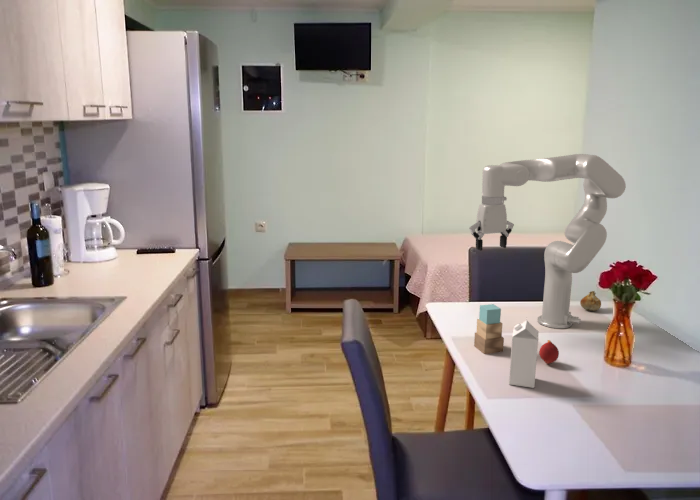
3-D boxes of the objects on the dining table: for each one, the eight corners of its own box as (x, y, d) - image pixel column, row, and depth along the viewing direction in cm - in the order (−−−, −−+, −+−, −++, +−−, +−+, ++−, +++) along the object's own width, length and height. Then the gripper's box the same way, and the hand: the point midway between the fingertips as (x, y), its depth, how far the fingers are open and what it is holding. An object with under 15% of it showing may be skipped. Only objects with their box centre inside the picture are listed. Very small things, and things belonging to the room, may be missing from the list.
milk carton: (534, 378, 168) (539, 318, 164) (534, 388, 162) (539, 326, 157) (510, 374, 171) (514, 315, 166) (508, 385, 164) (512, 323, 160)
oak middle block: (491, 331, 193) (492, 317, 191) (501, 337, 187) (502, 323, 186) (476, 333, 191) (477, 319, 190) (485, 339, 185) (486, 325, 184)
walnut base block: (492, 344, 194) (493, 330, 193) (503, 352, 188) (503, 338, 186) (474, 346, 192) (474, 332, 191) (484, 354, 186) (485, 340, 185)
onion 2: (575, 307, 232) (577, 289, 230) (594, 307, 232) (595, 288, 231) (585, 313, 224) (587, 294, 222) (604, 313, 225) (606, 294, 223)
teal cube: (492, 318, 191) (493, 304, 190) (500, 323, 186) (500, 308, 185) (479, 319, 189) (479, 305, 188) (486, 324, 185) (487, 310, 184)
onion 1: (558, 362, 180) (560, 338, 178) (556, 369, 175) (559, 344, 173) (539, 358, 182) (541, 335, 180) (537, 365, 177) (539, 341, 175)
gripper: (508, 198, 203) (506, 244, 207) (465, 201, 198) (464, 248, 202) (520, 200, 196) (518, 248, 200) (476, 204, 191) (475, 253, 195)
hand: (491, 248), depth 201 cm, fingers open, 9 cm apart
